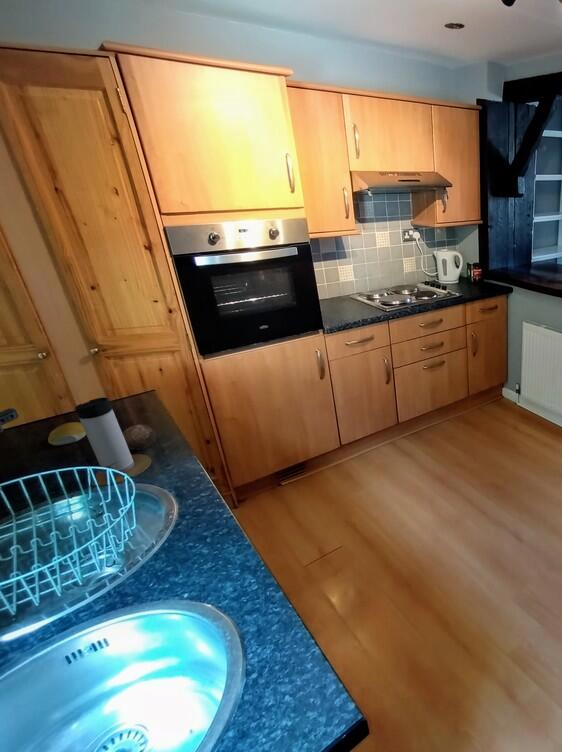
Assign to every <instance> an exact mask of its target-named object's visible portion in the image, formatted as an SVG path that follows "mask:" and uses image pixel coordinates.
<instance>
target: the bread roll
mask: <svg viewBox="0 0 562 752" xmlns="http://www.w3.org/2000/svg"><path fill="white" fill-rule="evenodd" d="M85 436H86V433H85V430H84V428H83V426H82V424H81V422H77V421H76V422H75V421H74V422H66V423H63V424H60V425H58V426H57V427H55V428H54V429H53V430H52V431H50V433H49V436H48V438H47V441H48V443H49V444H50V445H52V446H63V445H64V446H65V445H69V444H73V443H76V442H78V441H79V440H82V439H83V438H84V437H85Z"/></svg>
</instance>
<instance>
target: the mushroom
mask: <svg viewBox="0 0 562 752" xmlns="http://www.w3.org/2000/svg"><path fill="white" fill-rule="evenodd" d="M122 434H123V436H124V439H125V441H126V444H127V446H128V449H129V450H132V451H141V450H145V449H147V448H150V447H151V446H152V445H154V443H155V442H156V441H157V436H158V435H157V432H156V431H155V430H154V429H153V428H152V427H151V426H149V425H147V424H135V425H132V426H129V427H127V428H126V429H125V430H124V431H123V432H122Z"/></svg>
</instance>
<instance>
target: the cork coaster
mask: <svg viewBox="0 0 562 752" xmlns="http://www.w3.org/2000/svg"><path fill="white" fill-rule="evenodd" d="M131 456H132V459H133V461H134V466H133V467H132V468H131V469H130V470H128V471H126V472H125V473H126V474H127V475H129V476H131V477H133V478H134V477H136V476H138V475H140V474H142V473H143V472H145V471H146V470H147V469H149V467H150V465H151V464H152V458H151V457H150V456H149V455H147V454H139V453H138V454H137V453H136V454H131ZM95 477H96V479H97V481H98V483H99V486H98V487H103V486H104V487H105V486H108V485H107V478H106V475H105V474H104V473H103V472H102V471H98V472H97V473H96V476H95ZM115 478H116V482H117V483H116V484H120V483H122V482H125V481H124V478H123V477H122V476H120V475H116V476H115ZM86 482H87V483H88V475H87V476H86ZM91 486H94V487H97V486H96V485H95V483H92V485H91Z"/></svg>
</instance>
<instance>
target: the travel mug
mask: <svg viewBox="0 0 562 752" xmlns="http://www.w3.org/2000/svg"><path fill="white" fill-rule="evenodd" d="M74 409H75V411H76V414H77V415H78V419H79V421H80V423H81V424H82V426H83V428H84V430H85V433H86V434H85V436H86V437H87V440H88V441H89V443H90V446H91V449H92V451H93V453H94V455H95V457H96V460H97V462H98V465H99V466H101V467H108V468H113V469H116V470H120V471H122V472H126V471H128V470H130V469H131V468H132V467H133V466H134V461H133V459H132V456H131V455H132V453H131V451H130V449H129V448H128V446H127V444H126V441H125V439H124V436H123V434H122V433H123V432H122V429H121V427H120V425H119V422H118V419H117V417H116V415H115V412H114V409H113V407H112V406H111V403H110V400H109V398H108V397H97V398H93V399H90V400H89V401H86V402H83V403H79V404H77V405H75V407H74ZM103 473H104V474H105V475H106V472H104V471H103ZM117 475H118V474H117Z"/></svg>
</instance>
